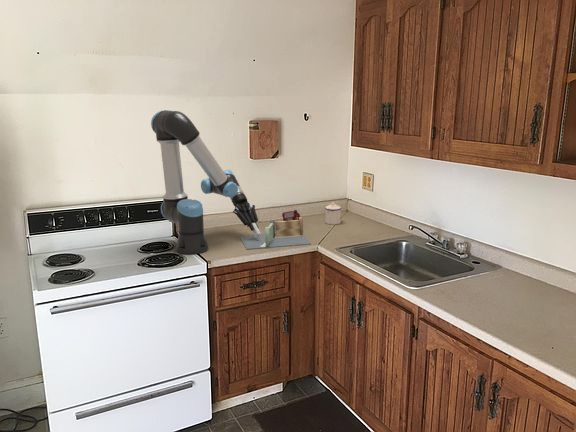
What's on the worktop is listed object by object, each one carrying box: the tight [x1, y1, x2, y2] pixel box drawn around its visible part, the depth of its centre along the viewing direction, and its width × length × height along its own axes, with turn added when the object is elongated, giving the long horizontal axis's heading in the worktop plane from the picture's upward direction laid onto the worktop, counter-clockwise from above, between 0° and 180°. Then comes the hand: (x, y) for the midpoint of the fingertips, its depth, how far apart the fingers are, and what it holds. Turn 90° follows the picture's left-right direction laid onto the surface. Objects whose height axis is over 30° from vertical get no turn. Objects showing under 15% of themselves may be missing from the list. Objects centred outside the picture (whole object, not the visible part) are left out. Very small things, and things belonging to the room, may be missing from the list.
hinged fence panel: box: [264, 222, 273, 246], centre depth 248 cm, size 14×2×9 cm, turn 172°
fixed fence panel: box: [269, 216, 304, 238], centre depth 258 cm, size 17×2×10 cm, turn 104°
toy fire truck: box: [281, 209, 302, 221], centre depth 273 cm, size 7×12×10 cm, turn 127°
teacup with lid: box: [324, 202, 342, 226], centre depth 286 cm, size 12×9×12 cm
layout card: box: [239, 232, 312, 251], centre depth 254 cm, size 32×22×1 cm
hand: (258, 235), depth 252 cm, fingers closed
